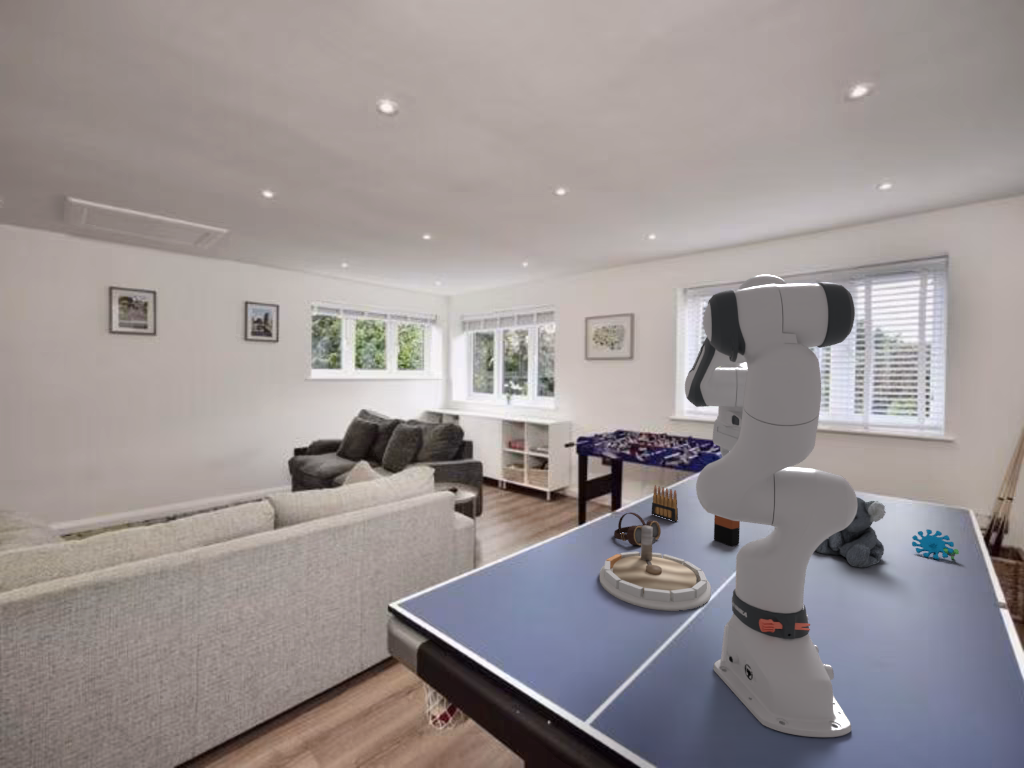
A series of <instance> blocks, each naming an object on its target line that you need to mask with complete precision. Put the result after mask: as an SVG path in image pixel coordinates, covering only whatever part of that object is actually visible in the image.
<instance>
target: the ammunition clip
mask: <svg viewBox="0 0 1024 768" xmlns="http://www.w3.org/2000/svg"><path fill="white" fill-rule="evenodd" d="M677 494H678V493H677V490H676V489H674V491H673V490H672V488H671V489H668V487H666V488H664V486H663V487H662V488H661V487H660V486H658V487H657V485H654V486H653V494H652V503H651V514H654V515H657V516H660V517H663V518H666V519H670V520H672V521H677V520H678V521H679V516H678V515H679V514H678V513H679V510H678V498H677V497H678V495H677ZM672 521H671V522H672Z"/></svg>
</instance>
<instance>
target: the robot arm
mask: <svg viewBox="0 0 1024 768" xmlns="http://www.w3.org/2000/svg"><path fill="white" fill-rule="evenodd" d="M705 307H706V308H705V310H704V314H703V318H702V321H703V322H702V323H703V330H704V333H705V335H706V338H705V339H704V341H703V343H702V345H701V347H700V350H699V351H698V354H697V357H696V358H695V361H694V364H693V366H692V368H690V370H689V372H688V373H687V376H686V378H685V381H684V393H685V396H686V399H687V400H688V402H690V404H692V405H693V406H695V407H697V408H701V407H702V408H703V407H704V408H705V407H718V411H717V412H718V414H717V416H716V419H715V420H714V422H713V431H712V442H713V445H716V446H717V447H719V451H720V453H721V454H720V455H721V458H719V459H717V460H714V461H712V462H709V463H708V464H706V465H705V466H704V468H702V470H701V471H700V473H698V477H697V479H696V484H695V488H696V489H695V491H696V495H697V497H696V498H697V499H698V501H699V503H700V505H701V507H702V508H703V510H705V511H706V512H707V513H708V514H711V515H714V516H715V515H717V516H720V517H723V518H726V519H730V520H733V521H740V522H743V523H749V524H757V525H765V526H770V527H774V528H773V530H772V531H771V532H770V534H768V535H767V536H765V537H763V538H760V539H759V538H758V539H756V540H753V541H749V542H748V543H746V544H744V545H743V546H741V547H740V549H739V550H738V552H737V554H736V557H735V560H736V561H735V563H736V564H735V566H736V567H735V586H734V587H735V588H734V589H733V591H732V596H731V605H732V606H731V609H732V615H731V617H730V619H729V620H728V622H726V624H725V625H724V628H723V635H722V636H723V637H722V645H721V656H720V658H719V659H718V660H716V661H715V662H714V663H713V669H712V670H714V672H715V673H716V675H718V677H719V678H720V679H721V680H722V681H723V682H724V683H725V684H726V685H727V687H728V688H729V689H730V690H731V691H732V693H734V695H735V696H736V697H737V698H738V699H739V700H740V701H741V703H743V705H744V706H745V707H746V709H748V711H749V712H750V713H751V715H753V716H754V717H755V718H756V719H757V721H758V722H759V723H760V724H762V725H763V726H764V727H767V728H769V729H771V730H775V731H776V732H777V731H778V732H780V733H784V734H790V735H794V736H800V737H810V738H811V737H812V738H835V737H836V738H837V737H842V736H845V735H848V734H849V733H850V732H851V731H852V725H851V724H852V723H851V721H850V720H849V718H848V716H847V715H846V714H845V712H844V710H843V709H842V707H841V705H840V704H839V702H838V701H837V699H836V697H835V696H834V691H833V683H832V680H834V677H835V676H834V675H835V673H834V669H833V667H832V665H830V664H828V663H823V661H822V659H821V657H820V654H819V652H820V649H819V647H818V645H816V644H814V642H813V640H812V638H811V636H810V634H809V633H810V630H811V629H810V626H811V623H809V616H808V613H807V609H806V605H805V604H804V596H805V595H804V594H805V593H804V591H805V583H806V575H807V568H808V566H809V565H808V564H809V562H810V559H811V558H812V556H813V554H814V552H816V551H815V550H816V548H817V547H818V546H819V545H820V544H821V543H822V542H823V541H824V540H826V539H827V538H828V537H830V536H831V535H833V534H835V533H837V532H839V531H841V530H844V529H845V528H846V527H848V526H849V525H850V524H851V522H852V521H853V519H854V518H855V515H856V513H857V505H858V504H857V497H858V496H857V494H856V491H855V490H854V488H853V486H852V485H851V484H850V482H849V481H848V480H847V479H846V478H845V477H843V476H842V475H841V474H836V473H833V472H829V471H825V470H821V469H816V468H812V467H802V466H801V467H800V466H796V465H798V464H800V463H803V462H804V461H805V460H806V459H807V458H808V457H809V456H810V454H812V453H813V451H814V448H815V446H816V440H817V439H816V438H817V433H818V426H819V420H820V419H819V418H820V411H821V404H822V377H821V366H820V362H819V359H818V357H817V355H816V353H815V352H814V351H813V350H812V349H811V348H814V347H816V348H820V349H821V348H822V349H823V348H826V347H831V346H835V345H838V344H841V343H842V342H843V343H844V341H845V340H846V339H847V337H848V336H849V335H850V334H851V333H852V329H853V328H854V321H855V317H856V306H855V304H854V299H853V295H852V294H851V291H850V290H848V289H847V288H846V287H844V286H843V285H842V284H839V283H835V282H834V283H833V282H826V281H825V282H823V281H818V282H816V283H787V282H786V280H784V279H783V278H781V277H779V276H776V275H771V274H759V275H755V276H752V277H750V278H748V279H746V280H745V281H744V282H742V283H741V285H740V286H739V287H738V289H736V290H734V289H732V288H731V289H727V290H723V291H721V292H717V293H715V294H713V295H712V296H711V297H710V298H709V300H708V301H707V306H705Z"/></svg>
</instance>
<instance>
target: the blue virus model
mask: <svg viewBox="0 0 1024 768" xmlns="http://www.w3.org/2000/svg"><path fill="white" fill-rule="evenodd" d="M925 531H926V535H925V536H924V532H923V531H922V530H920V531H917V535H918V536H919V537H921V539H919V538H918V536H917V535H913V536H912V537H911V538H912V542H911V546H912V547H915V551H916V553H917V554H920V553H922V552H923V553H922V555H923V557H924V558H926V559H929V557H930V555H932V554H933V553H934V554H933V555H932V558H933V559H934V560H940V558H939V554H940V553H941V556H942V558H943V559H946V558H949V557H950V559H951V560H954V559H955V556H956V555H959V554H960V552H959V550H958V549H957V548H955V549H954V547H955V544H954V542H953V541H950V536H949V535H948V534H947V535H946V534H944V535H943V534H942V532H941V531H940V530H936V531H935V532H934V533H933V530H931V529H927V528H926V530H925ZM931 534H932V535H931ZM942 535H943V536H942ZM916 541H917V542H916ZM947 545H948V546H947Z"/></svg>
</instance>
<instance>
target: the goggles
mask: <svg viewBox="0 0 1024 768" xmlns="http://www.w3.org/2000/svg"><path fill="white" fill-rule="evenodd" d="M626 515H633V516H634V517H636V518H637V519H639V521H640V523H642V524H641V525H640V524H639V525H631V526H625V527H622V522H623V519H624V517H625V516H626ZM645 525H646V526H651V527H653V538H652V544H653V543H656V541H657V540H658V539H659V538H660V536H661V533H662V531H661V530H662V529H661V526H660V524H659V522H658V521H657V520H650V519H649V520H648V521H646V522H645V520H644V518H642V517H641V516H640V515H639V514H637V513H635V512H625V513H624V514H622V515H621V517H620V518H619V520H618V525H617V527H618V528H617V529H615V530H614V534H613V536H614V538H615V539H617V540H620V541H623V542H626V541H627V542H628V543H629V544H630V545H632V546H641V534H642V526H645ZM622 532H627V533H622ZM620 533H621V534H620Z"/></svg>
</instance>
